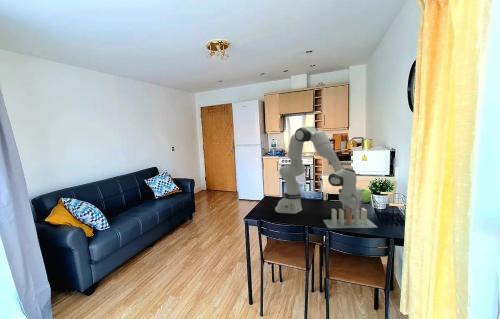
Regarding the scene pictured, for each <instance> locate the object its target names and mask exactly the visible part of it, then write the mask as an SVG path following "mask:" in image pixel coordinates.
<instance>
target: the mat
mask: <svg viewBox="0 0 500 319" xmlns="http://www.w3.org/2000/svg"><path fill="white" fill-rule="evenodd" d="M322 221H323V223H324V224H325V225H326V227H327V228H328V229H354V228H355V229H358V228H359V229H360V228H361V229H363V228H364V229H366V228H378V226H377V225H376V224H375V223H374V222H372V221H371V220H370V219H369V218H367V225H364V224H363V223H362V222H361V218H359V225H356V224H355V223H354V218H352V225H349V224H348V223H346V218H344V225H341V224H340V223H339V219H337V225H333V223H332V219H323V220H322Z"/></svg>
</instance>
